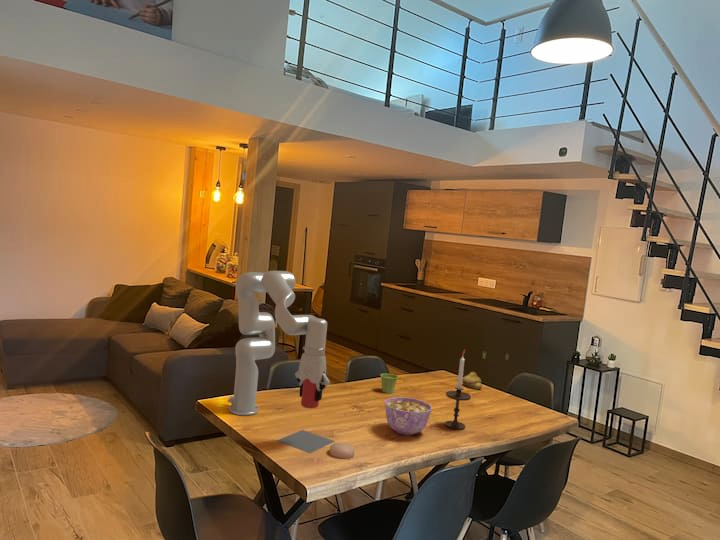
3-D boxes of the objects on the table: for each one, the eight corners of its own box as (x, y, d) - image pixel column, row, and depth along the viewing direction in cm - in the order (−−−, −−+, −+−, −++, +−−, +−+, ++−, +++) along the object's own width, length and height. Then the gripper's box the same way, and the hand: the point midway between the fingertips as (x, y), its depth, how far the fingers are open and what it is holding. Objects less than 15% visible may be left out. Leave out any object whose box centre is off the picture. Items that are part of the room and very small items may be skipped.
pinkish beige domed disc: (324, 452, 195) (325, 445, 194) (343, 447, 201) (344, 440, 200) (339, 462, 188) (340, 455, 188) (359, 457, 194) (359, 450, 194)
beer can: (321, 405, 204) (323, 374, 203) (314, 410, 197) (317, 378, 197) (305, 402, 206) (308, 371, 205) (297, 406, 199) (300, 375, 199)
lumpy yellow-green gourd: (485, 390, 305) (486, 376, 305) (470, 390, 302) (472, 376, 301) (473, 384, 317) (475, 370, 317) (459, 383, 314) (460, 370, 314)
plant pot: (377, 388, 286) (379, 372, 285) (394, 389, 287) (396, 374, 286) (380, 393, 277) (381, 377, 276) (398, 395, 278) (399, 378, 277)
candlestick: (462, 422, 244) (470, 346, 242) (470, 431, 233) (480, 352, 231) (439, 421, 242) (447, 345, 240) (447, 430, 231) (456, 350, 229)
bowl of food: (395, 442, 212) (398, 413, 211) (374, 424, 230) (376, 397, 229) (438, 439, 220) (441, 411, 219) (414, 421, 238) (417, 396, 237)
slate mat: (275, 441, 200) (276, 440, 200) (302, 431, 213) (302, 429, 213) (309, 454, 191) (310, 453, 191) (335, 442, 205) (335, 441, 205)
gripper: (290, 348, 202) (286, 394, 203) (327, 357, 193) (323, 406, 194) (302, 346, 208) (298, 391, 209) (339, 354, 199) (334, 401, 200)
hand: (310, 397), depth 201 cm, fingers closed on beer can, 6 cm apart
